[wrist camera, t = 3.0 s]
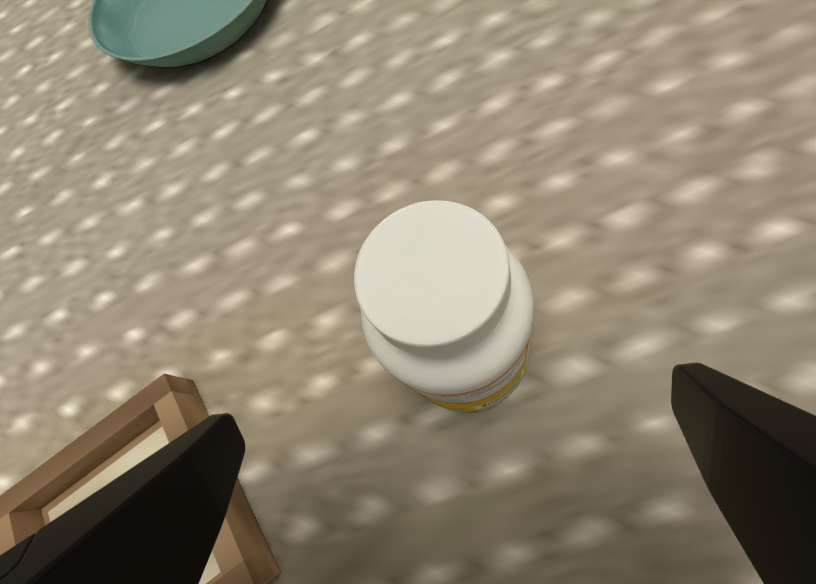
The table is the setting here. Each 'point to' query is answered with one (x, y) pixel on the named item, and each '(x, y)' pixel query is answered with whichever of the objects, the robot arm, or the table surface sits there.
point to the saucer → (169, 28)
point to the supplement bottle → (445, 304)
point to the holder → (117, 453)
